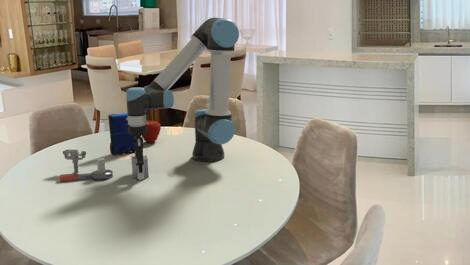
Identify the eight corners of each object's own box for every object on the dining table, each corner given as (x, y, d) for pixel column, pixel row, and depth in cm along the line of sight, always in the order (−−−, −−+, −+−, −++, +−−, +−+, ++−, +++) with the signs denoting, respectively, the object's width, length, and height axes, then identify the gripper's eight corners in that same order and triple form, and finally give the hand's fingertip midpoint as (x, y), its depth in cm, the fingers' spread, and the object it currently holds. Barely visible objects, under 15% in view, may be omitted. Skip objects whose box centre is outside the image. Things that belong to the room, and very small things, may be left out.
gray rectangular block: (147, 173, 244) (146, 155, 242) (148, 177, 238) (147, 159, 236) (132, 174, 242) (131, 156, 240) (133, 178, 236) (132, 160, 234)
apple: (137, 144, 290) (135, 122, 287) (143, 139, 300) (142, 117, 297) (157, 145, 288) (156, 122, 285) (163, 140, 298) (162, 117, 295)
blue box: (112, 156, 270) (109, 115, 265) (108, 154, 274) (105, 113, 269) (140, 151, 277) (138, 111, 272) (136, 149, 282) (133, 110, 277)
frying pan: (112, 173, 245) (111, 155, 243) (113, 179, 236) (111, 161, 234) (61, 177, 240) (59, 159, 238) (59, 184, 231) (57, 165, 229)
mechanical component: (85, 174, 244) (83, 151, 242) (63, 173, 246) (61, 151, 244) (88, 171, 247) (86, 150, 244) (67, 170, 249) (65, 149, 246)
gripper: (126, 119, 244) (129, 168, 250) (129, 131, 223) (132, 184, 228) (144, 118, 246) (146, 167, 251) (148, 130, 225) (151, 183, 230)
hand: (140, 175), depth 240 cm, fingers open, 10 cm apart
